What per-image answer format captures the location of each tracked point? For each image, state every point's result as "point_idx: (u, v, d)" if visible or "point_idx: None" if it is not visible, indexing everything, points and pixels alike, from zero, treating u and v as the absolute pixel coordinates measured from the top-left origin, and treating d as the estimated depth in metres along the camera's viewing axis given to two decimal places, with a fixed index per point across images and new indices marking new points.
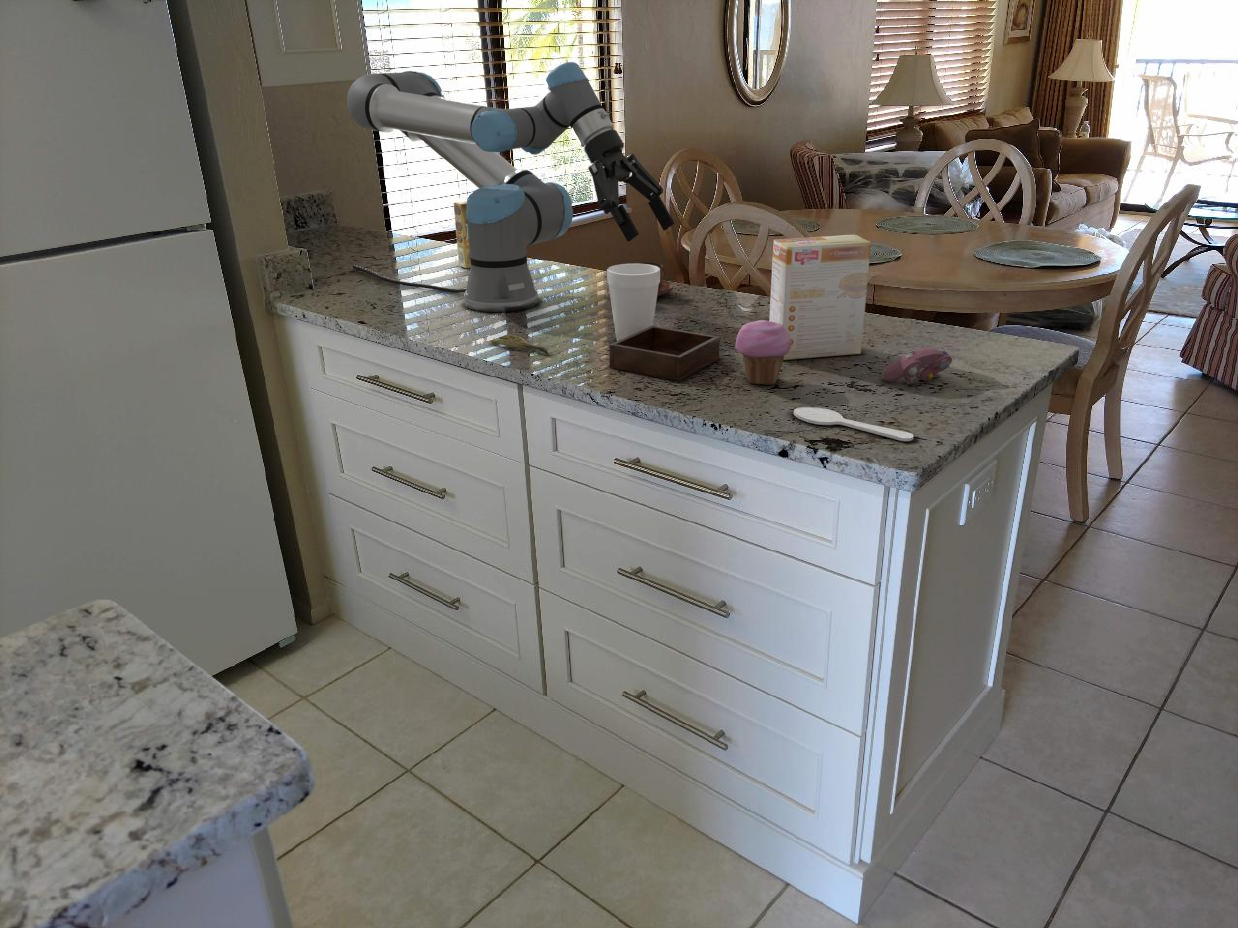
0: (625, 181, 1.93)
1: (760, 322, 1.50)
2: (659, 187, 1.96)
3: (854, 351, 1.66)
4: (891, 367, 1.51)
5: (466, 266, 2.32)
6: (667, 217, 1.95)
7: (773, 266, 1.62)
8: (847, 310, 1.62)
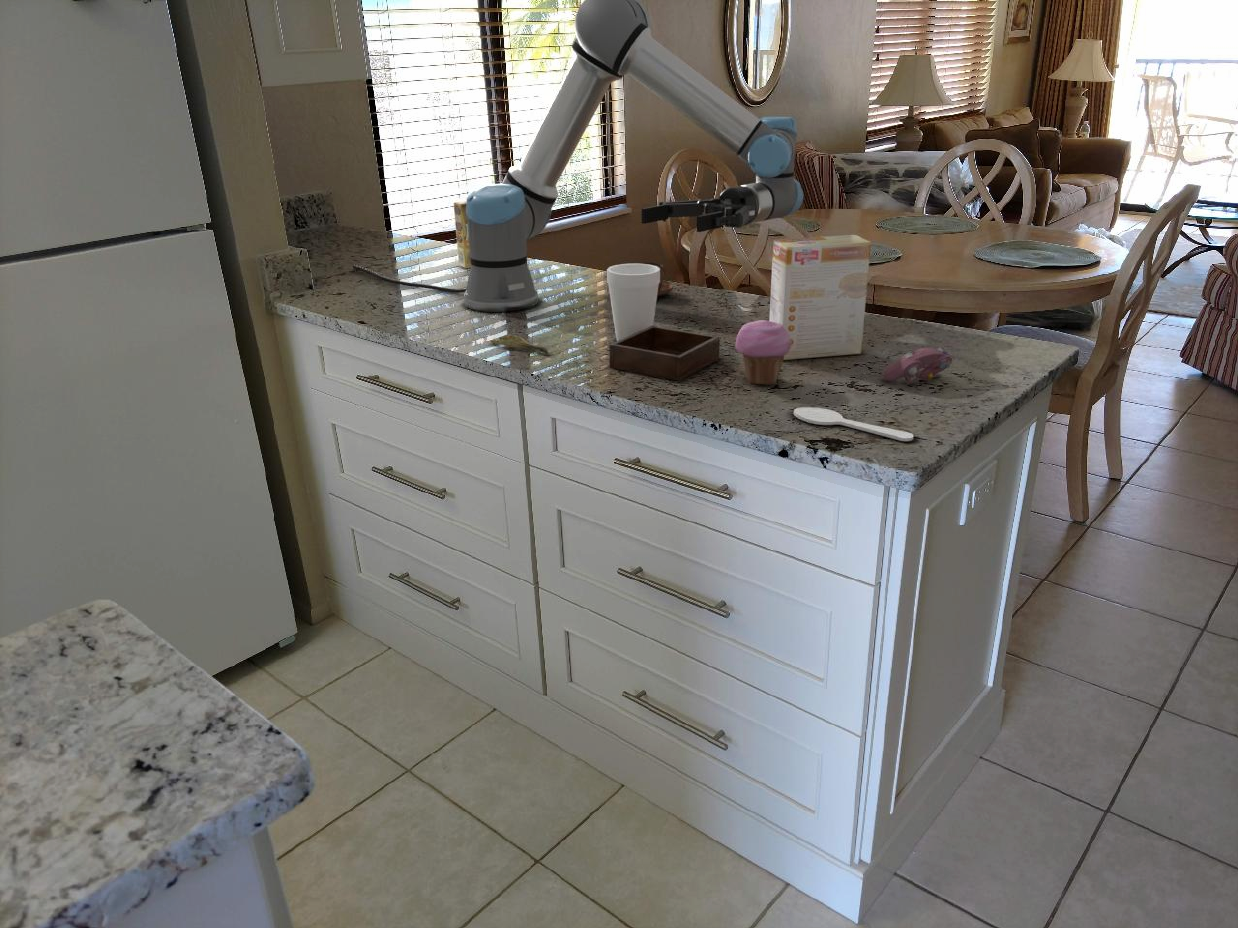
0: (701, 203, 1.83)
1: (760, 322, 1.50)
2: None
3: (854, 351, 1.66)
4: (891, 367, 1.51)
5: (466, 266, 2.32)
6: (650, 220, 1.79)
7: (773, 266, 1.62)
8: (847, 310, 1.62)
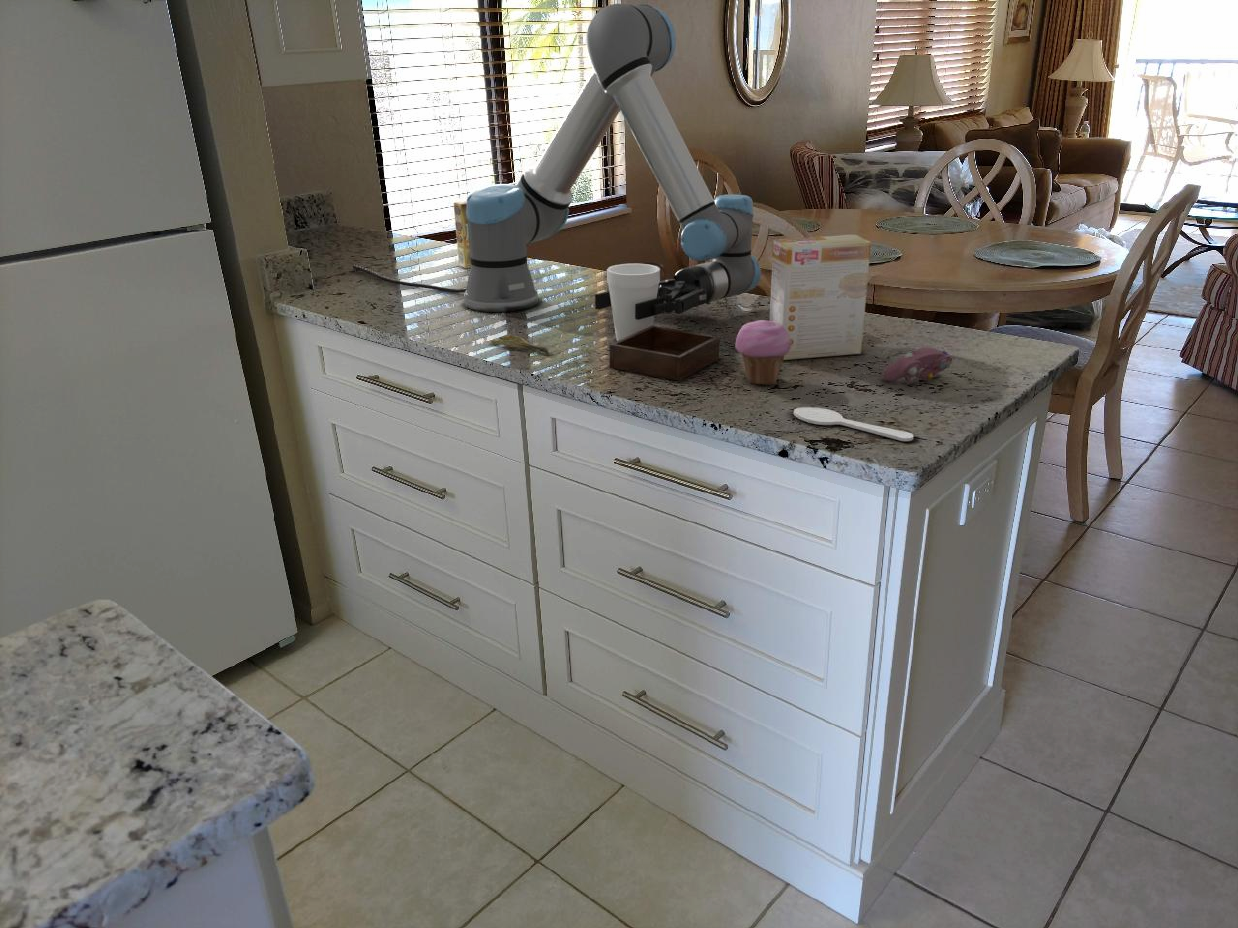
0: None
1: (760, 322, 1.50)
2: None
3: (854, 351, 1.66)
4: (891, 367, 1.51)
5: (466, 266, 2.32)
6: (604, 306, 1.75)
7: (773, 266, 1.62)
8: (847, 310, 1.62)
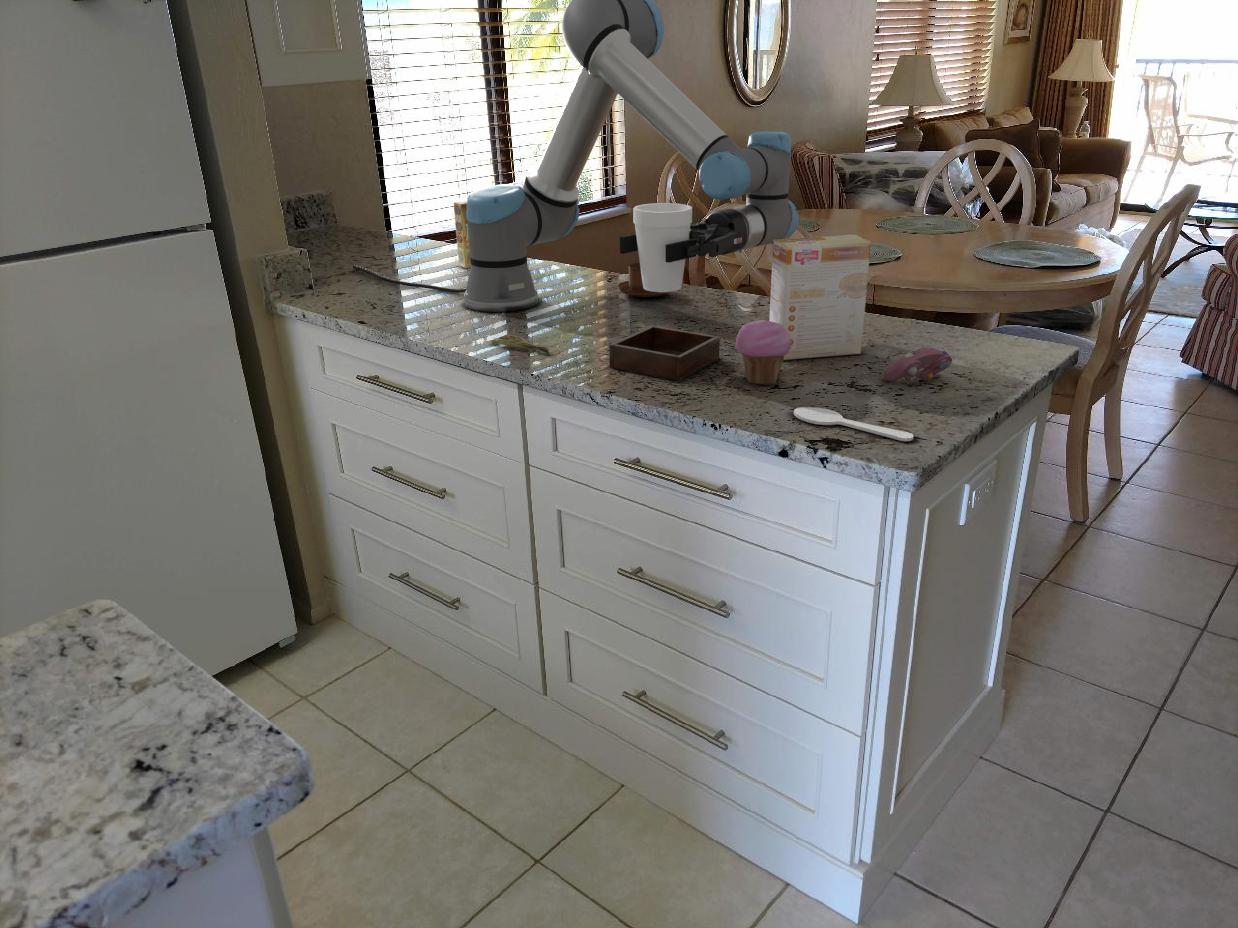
0: None
1: (760, 322, 1.50)
2: None
3: (854, 351, 1.66)
4: (891, 367, 1.51)
5: (466, 266, 2.32)
6: (630, 250, 1.58)
7: (773, 266, 1.62)
8: (847, 310, 1.62)
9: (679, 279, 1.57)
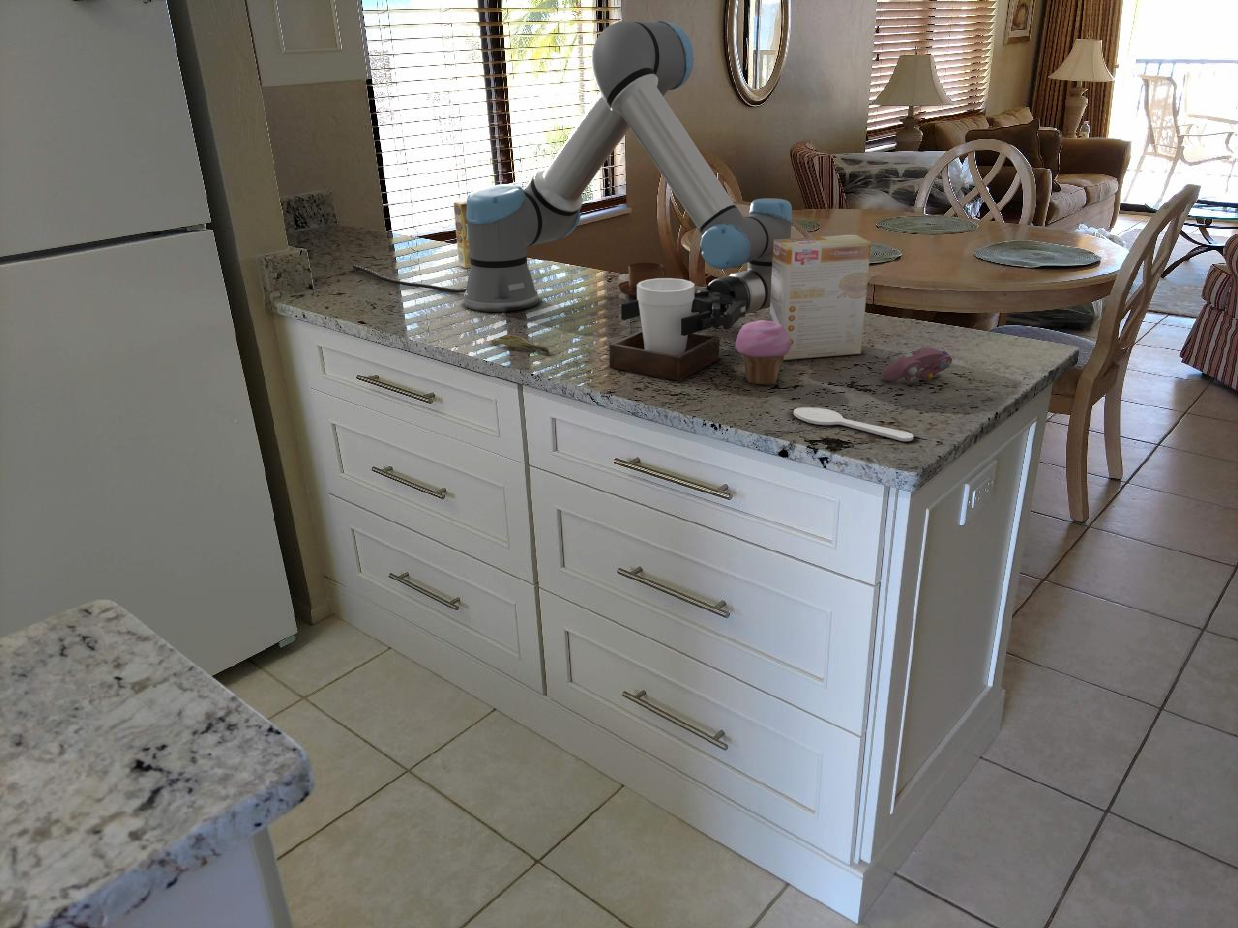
0: None
1: (760, 322, 1.50)
2: None
3: (854, 351, 1.66)
4: (891, 367, 1.51)
5: (466, 266, 2.32)
6: (631, 316, 1.63)
7: (773, 266, 1.62)
8: (847, 310, 1.62)
9: (681, 353, 1.60)
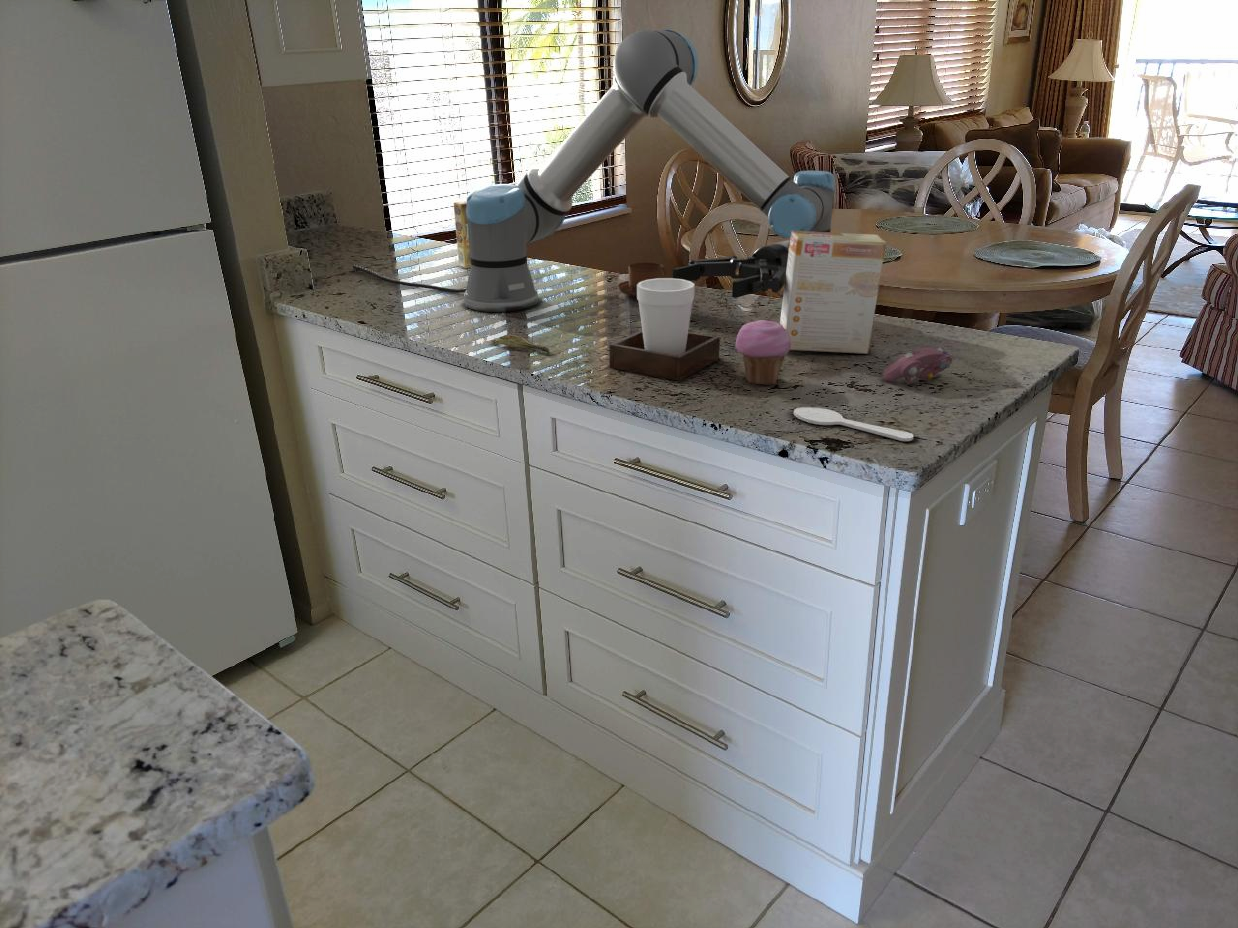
0: (734, 262, 1.74)
1: (760, 322, 1.50)
2: None
3: (860, 350, 1.66)
4: (891, 367, 1.51)
5: (466, 266, 2.32)
6: None
7: (788, 256, 1.65)
8: (856, 308, 1.63)
9: (681, 353, 1.60)
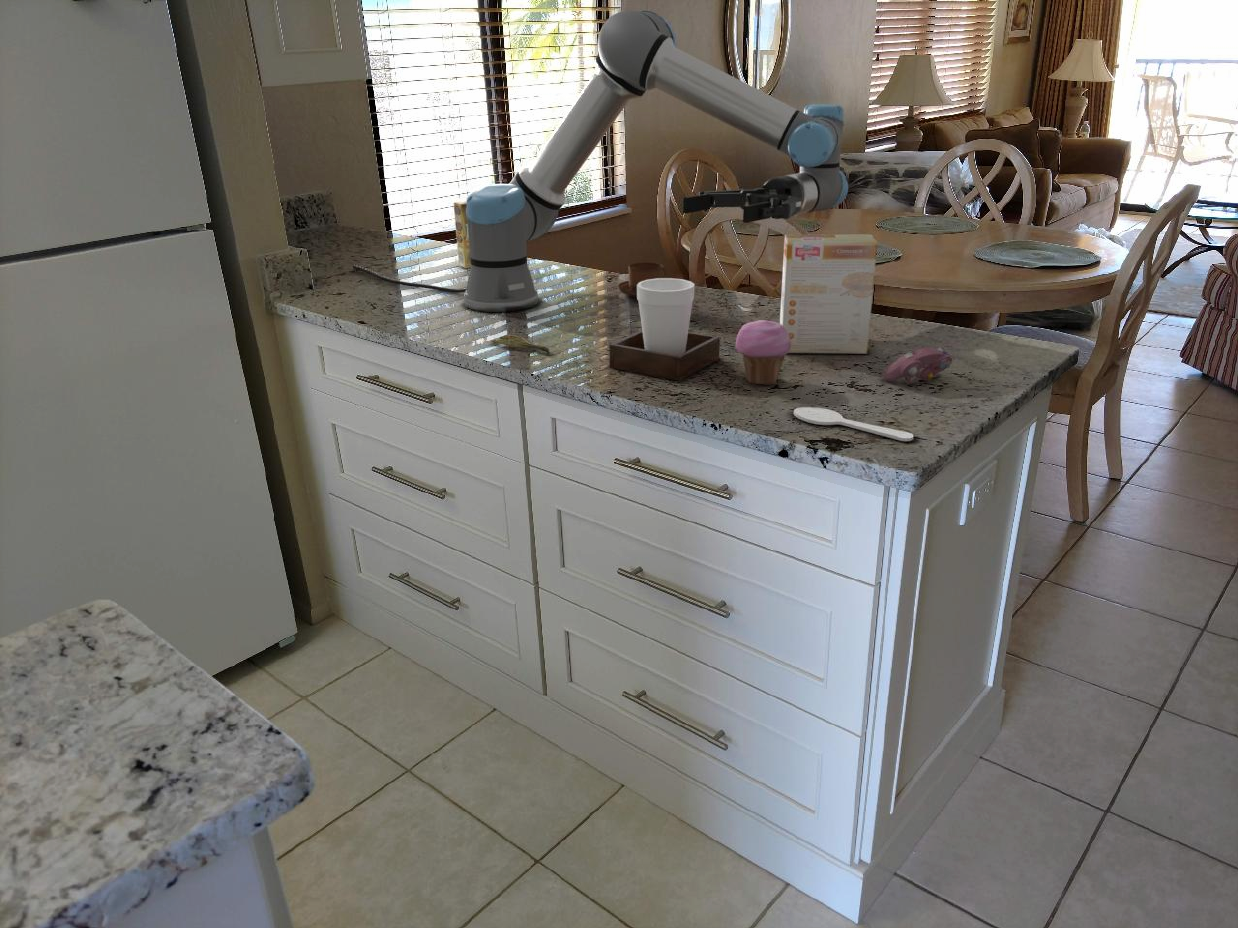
0: (744, 193, 1.75)
1: (760, 322, 1.50)
2: None
3: (859, 351, 1.66)
4: (891, 367, 1.51)
5: (466, 266, 2.32)
6: (692, 210, 1.72)
7: (783, 260, 1.66)
8: (851, 309, 1.63)
9: (681, 353, 1.60)
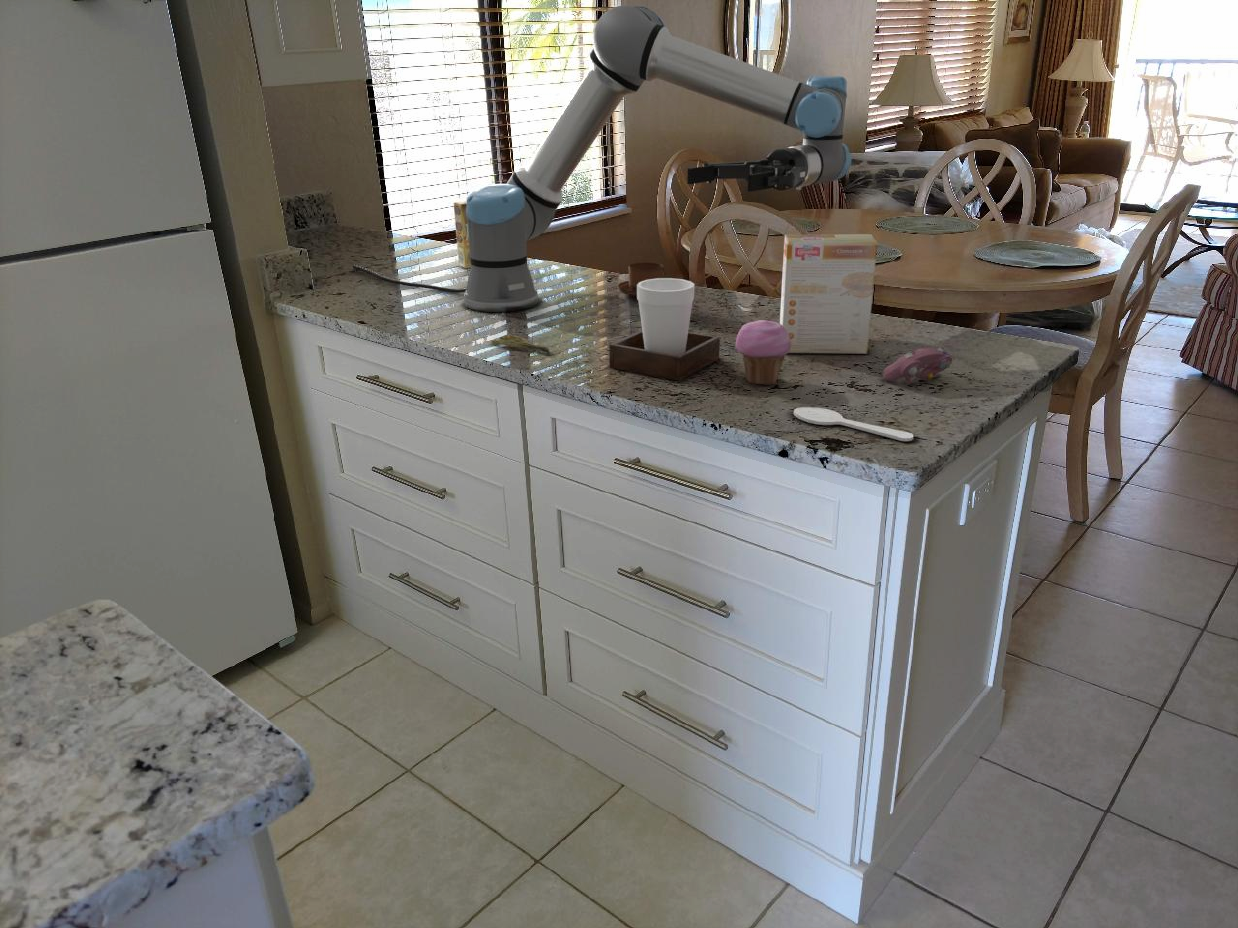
0: (748, 164, 1.75)
1: (760, 322, 1.50)
2: None
3: (859, 351, 1.66)
4: (891, 367, 1.51)
5: (466, 266, 2.32)
6: (696, 181, 1.72)
7: (783, 260, 1.66)
8: (851, 309, 1.63)
9: (681, 353, 1.60)
